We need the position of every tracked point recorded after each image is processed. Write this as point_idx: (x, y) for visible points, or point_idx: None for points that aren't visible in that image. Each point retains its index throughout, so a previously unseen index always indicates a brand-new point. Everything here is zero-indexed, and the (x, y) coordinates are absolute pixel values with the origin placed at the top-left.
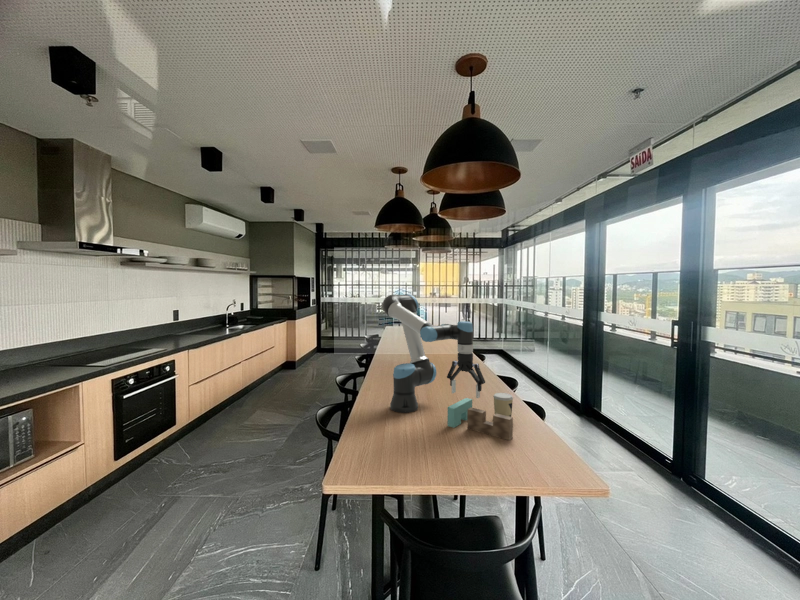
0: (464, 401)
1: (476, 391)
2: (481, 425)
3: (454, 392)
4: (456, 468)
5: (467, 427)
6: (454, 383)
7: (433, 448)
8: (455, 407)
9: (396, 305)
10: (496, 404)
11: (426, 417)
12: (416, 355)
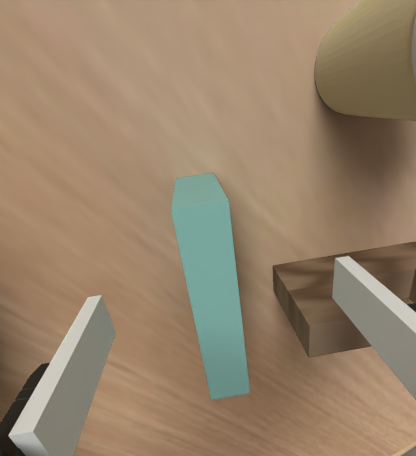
0: (218, 281)
1: (374, 341)
2: None
3: (107, 313)
4: (360, 436)
5: (275, 293)
6: (71, 396)
7: (273, 426)
8: (244, 379)
9: None
10: (410, 118)
11: None
12: None
